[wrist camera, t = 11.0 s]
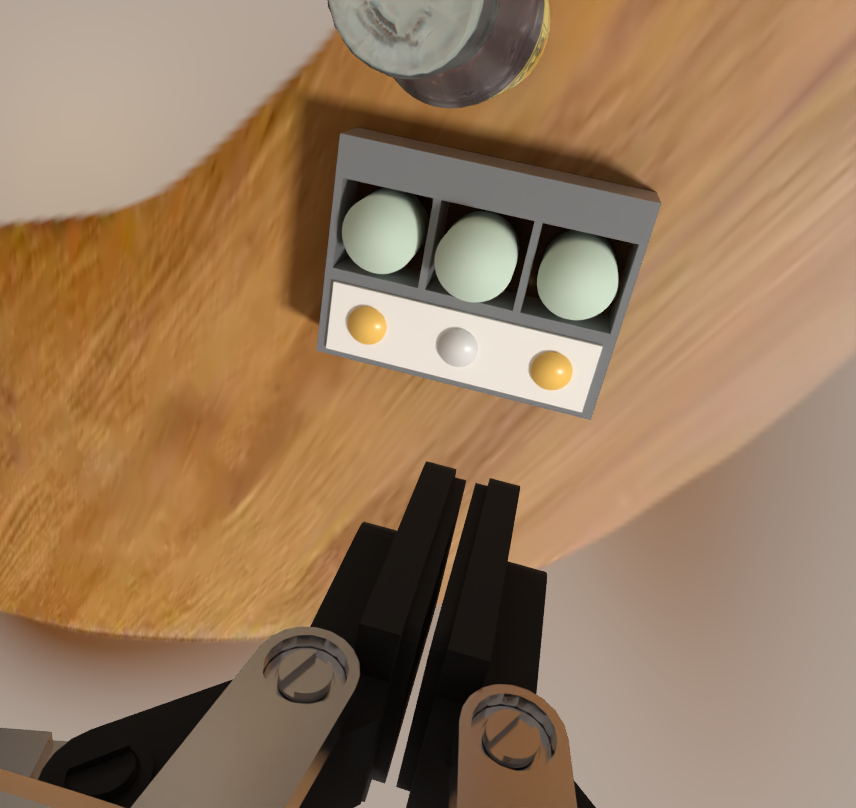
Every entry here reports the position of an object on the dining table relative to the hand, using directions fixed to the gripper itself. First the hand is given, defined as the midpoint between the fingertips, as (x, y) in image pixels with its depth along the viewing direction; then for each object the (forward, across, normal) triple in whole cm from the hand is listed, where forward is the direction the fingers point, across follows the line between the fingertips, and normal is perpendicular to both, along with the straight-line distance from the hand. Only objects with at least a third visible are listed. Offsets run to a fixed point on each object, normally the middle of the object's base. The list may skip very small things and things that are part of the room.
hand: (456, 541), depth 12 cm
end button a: (+29, +8, +3) cm, 30 cm away
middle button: (+28, +3, +3) cm, 28 cm away
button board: (+29, +3, +4) cm, 30 cm away
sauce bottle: (+29, +5, -8) cm, 31 cm away
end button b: (+29, -2, +3) cm, 29 cm away
